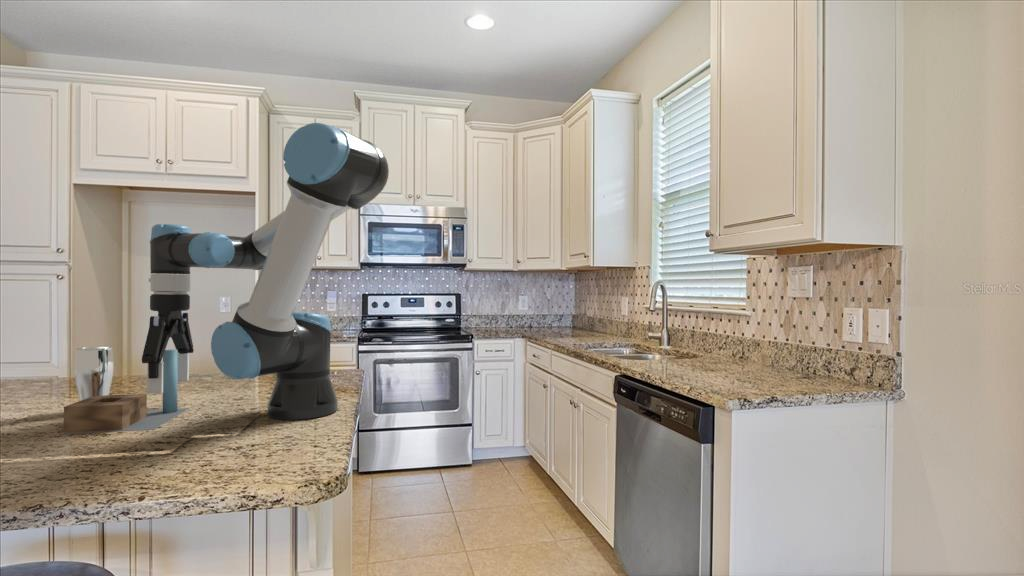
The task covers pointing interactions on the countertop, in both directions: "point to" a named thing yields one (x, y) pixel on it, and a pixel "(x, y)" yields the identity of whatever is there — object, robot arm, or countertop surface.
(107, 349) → the beer glass
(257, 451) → the countertop surface
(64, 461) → the countertop surface
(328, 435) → the countertop surface
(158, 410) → the mat
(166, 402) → the dowel
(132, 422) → the wooden peg holder
